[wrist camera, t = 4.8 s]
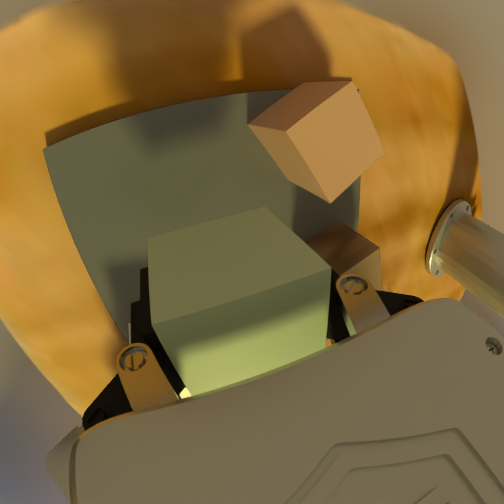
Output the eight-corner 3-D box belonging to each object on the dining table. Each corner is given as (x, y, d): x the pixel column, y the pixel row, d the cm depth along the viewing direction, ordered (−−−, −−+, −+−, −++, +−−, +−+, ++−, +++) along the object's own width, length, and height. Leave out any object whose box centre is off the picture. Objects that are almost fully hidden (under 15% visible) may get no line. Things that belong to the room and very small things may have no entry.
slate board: (351, 88, 18) (358, 89, 17) (346, 288, 29) (350, 292, 28) (46, 147, 12) (42, 149, 12) (143, 362, 23) (144, 369, 22)
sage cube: (265, 206, 12) (331, 267, 7) (274, 296, 14) (322, 368, 10) (147, 238, 10) (151, 324, 6) (180, 326, 13) (202, 412, 9)
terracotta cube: (303, 82, 16) (352, 81, 12) (335, 138, 19) (384, 152, 15) (247, 124, 16) (285, 131, 12) (287, 180, 19) (330, 203, 15)
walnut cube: (339, 220, 23) (379, 247, 19) (347, 262, 25) (381, 291, 21) (290, 250, 22) (325, 285, 18) (304, 290, 25) (335, 325, 21)
